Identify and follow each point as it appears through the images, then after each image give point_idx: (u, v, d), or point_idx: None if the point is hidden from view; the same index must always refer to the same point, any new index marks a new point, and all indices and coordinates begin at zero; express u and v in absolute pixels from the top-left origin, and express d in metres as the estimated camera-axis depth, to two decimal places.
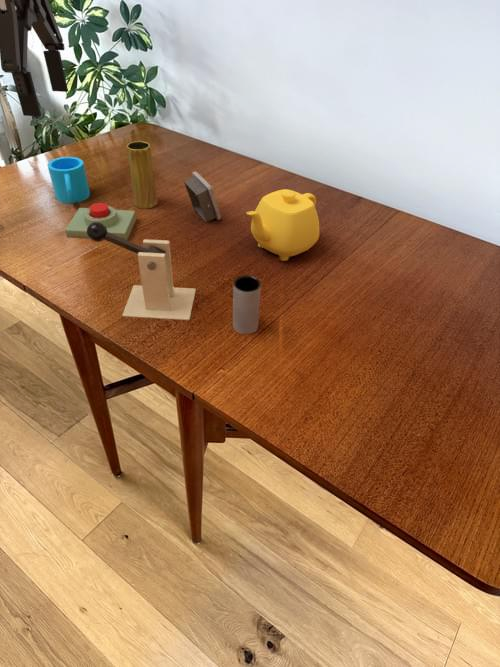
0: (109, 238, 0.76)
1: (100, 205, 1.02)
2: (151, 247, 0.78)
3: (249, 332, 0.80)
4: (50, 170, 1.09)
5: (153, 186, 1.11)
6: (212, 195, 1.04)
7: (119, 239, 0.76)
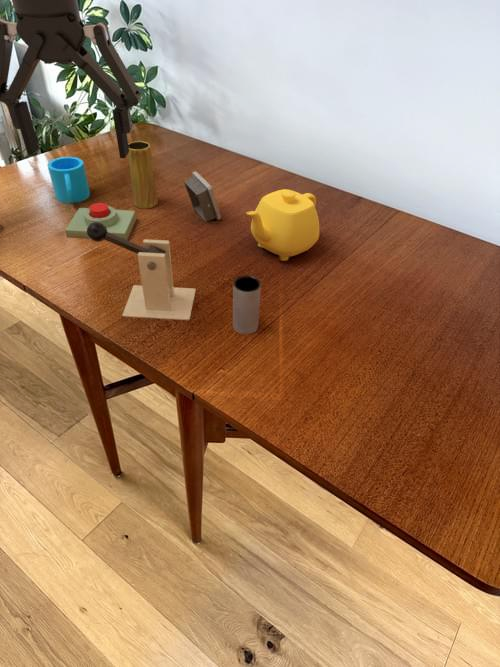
0: (109, 238, 0.76)
1: (100, 205, 1.02)
2: (151, 247, 0.78)
3: (249, 332, 0.80)
4: (50, 170, 1.09)
5: (153, 186, 1.11)
6: (212, 195, 1.04)
7: (119, 239, 0.76)
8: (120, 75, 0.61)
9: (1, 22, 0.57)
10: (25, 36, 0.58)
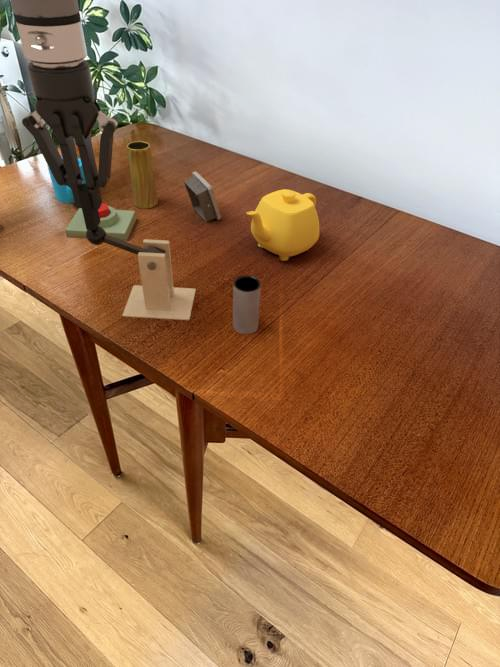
0: (108, 241, 0.76)
1: None
2: (150, 247, 0.78)
3: (249, 332, 0.80)
4: (50, 170, 1.09)
5: (153, 186, 1.11)
6: (212, 195, 1.04)
7: (118, 241, 0.77)
8: (104, 162, 0.66)
9: (27, 117, 0.63)
10: (43, 114, 0.62)
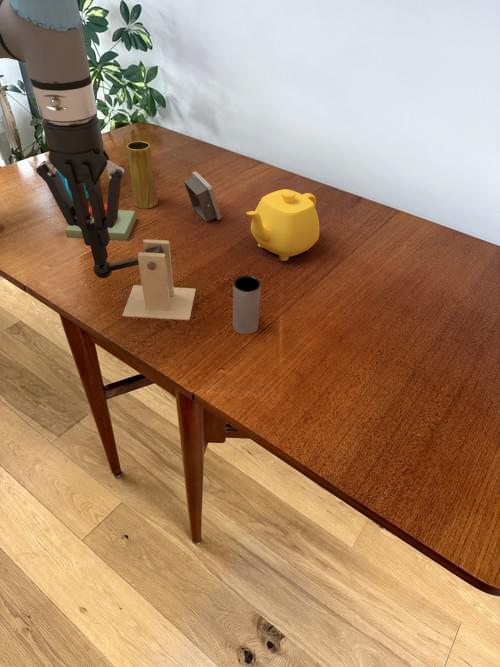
0: (112, 267, 0.80)
1: None
2: (146, 251, 0.78)
3: (249, 332, 0.80)
4: None
5: (153, 186, 1.11)
6: (212, 195, 1.04)
7: (120, 262, 0.80)
8: (112, 206, 0.71)
9: (40, 166, 0.68)
10: (56, 163, 0.67)
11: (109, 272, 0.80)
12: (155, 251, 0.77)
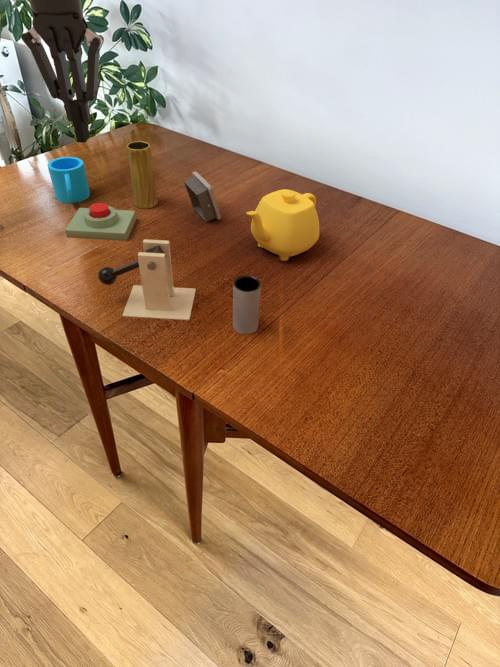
0: (116, 272, 0.81)
1: (100, 205, 1.02)
2: (146, 252, 0.79)
3: (249, 332, 0.80)
4: (50, 170, 1.09)
5: (153, 186, 1.11)
6: (212, 195, 1.04)
7: (122, 267, 0.80)
8: (91, 76, 0.77)
9: (25, 33, 0.74)
10: (39, 29, 0.73)
11: (113, 278, 0.81)
12: (154, 251, 0.77)
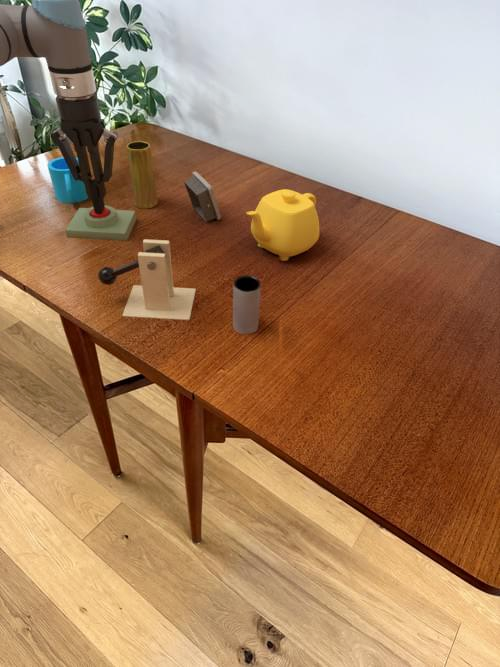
0: (116, 272, 0.81)
1: None
2: (146, 252, 0.79)
3: (249, 332, 0.80)
4: (50, 170, 1.09)
5: (153, 186, 1.11)
6: (212, 195, 1.04)
7: (122, 267, 0.80)
8: (108, 164, 0.94)
9: (53, 132, 0.90)
10: (65, 130, 0.89)
11: (113, 278, 0.81)
12: (154, 251, 0.77)
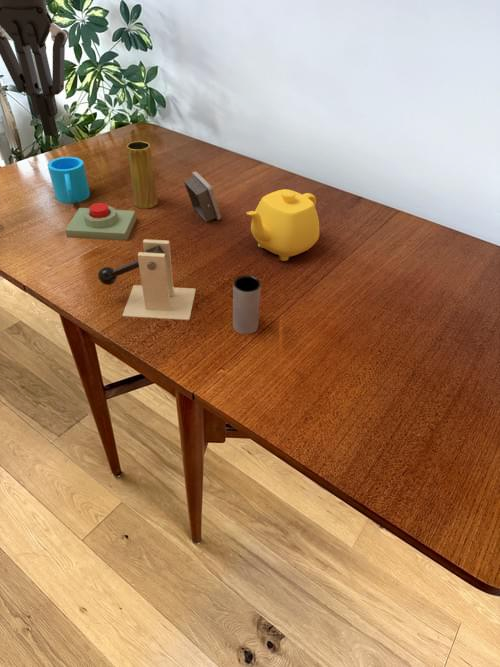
0: (116, 272, 0.81)
1: (100, 205, 1.02)
2: (146, 252, 0.79)
3: (249, 332, 0.80)
4: (50, 170, 1.09)
5: (153, 186, 1.11)
6: (212, 195, 1.04)
7: (122, 267, 0.80)
8: (57, 70, 0.78)
9: None
10: (3, 23, 0.74)
11: (113, 278, 0.81)
12: (154, 251, 0.77)
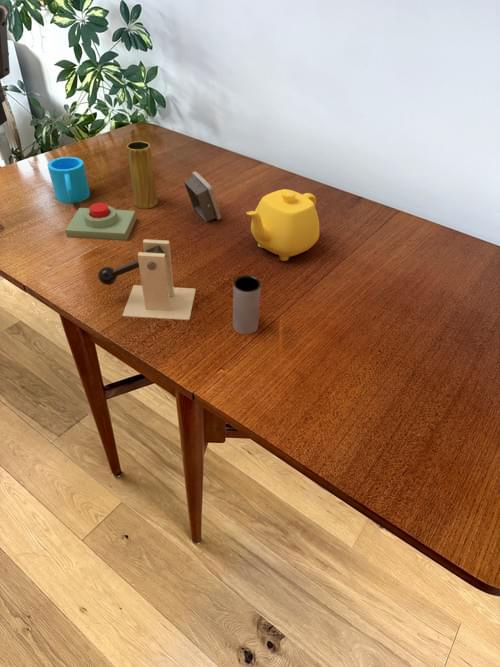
0: (116, 272, 0.81)
1: (100, 205, 1.02)
2: (146, 252, 0.79)
3: (249, 332, 0.80)
4: (50, 170, 1.09)
5: (153, 186, 1.11)
6: (212, 195, 1.04)
7: (122, 267, 0.80)
8: None
9: None
10: None
11: (113, 278, 0.81)
12: (154, 251, 0.77)
